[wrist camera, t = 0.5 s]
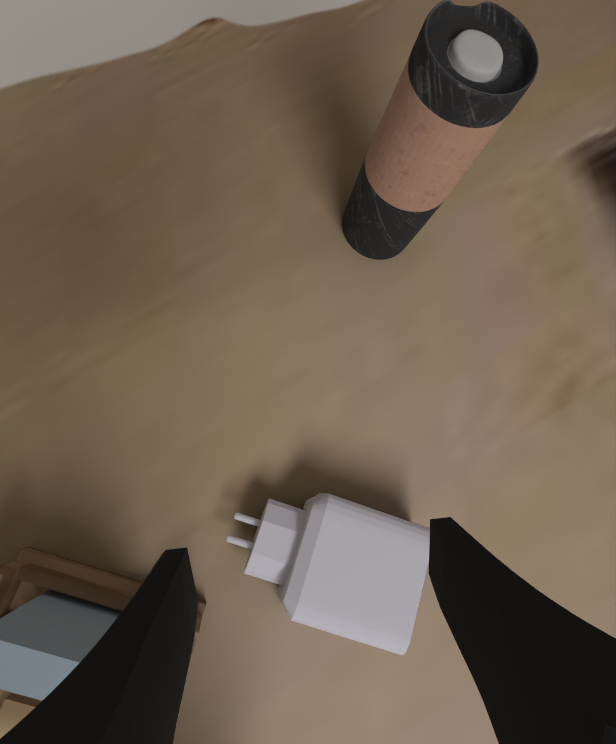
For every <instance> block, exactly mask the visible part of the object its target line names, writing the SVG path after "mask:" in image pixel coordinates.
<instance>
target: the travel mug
mask: <svg viewBox="0 0 616 744" xmlns="http://www.w3.org/2000/svg"><path fill="white" fill-rule="evenodd" d="M537 69H538V52H537V49H536V45H535V43H534V41H533V39H532V37H531V35H530V33H529V32H528V30H527V29H526V28H525V26H524V25H523V24H522V23H521V22H520V21H519V20H518V19H517V18H516V17H515V16H514V15H512V14H511V13H510V12H509V11H507V10H506V9H504V8H502V7H501V6H499V5H497V4H495V3H492V2H488V1H487V2H483V3H481V4H479V5H476V6H458V5H454V4H453V3H452V1H451V0H444V1H442V2H440V3H439V4H438V5H436V6H435V7H434V8H433V9H432V10H431V12H430V13H429V14H428V16H427V18H426V20H425V22H424V24H423V26H422V28H421V31H420V33H419V35H418V37H417V40H416V42H415V44H414V47H413V49H412V51H411V54H410V56H409V58H408V60H407V63H406V65H405V67H404V69H403V72H402V74H401V76H400V78H399V81H398V83H397V85H396V88H395V90H394V92H393V94H392V97H391V99H390V101H389V104H388V106H387V108H386V110H385V113H384V115H383V117H382V119H381V122H380V124H379V126H378V129H377V131H376V133H375V135H374V138H373V140H372V142H371V145H370V147H369V149H368V151H367V154H366V156H365V159H364V162H363V164H362V167H361V170H360V172H359V175H358V178H357V180H356V183H355V186H354V188H353V191H352V194H351V196H350V199H349V201H348V204H347V207H346V210H345V213H344V216H343V224H342V225H343V232H344V235H345V237H346V239H347V241H348V243H349V244H350V245H351V246H352V247H353V249H355V250H356V251H357V252H358V253H360V254H362V255H363V256H366V257H368V258H372V259H378V260H383V259H388V258H392V257H394V256H396V255H397V254H399V253H400V252H401V251H402V250H403V249H404V248H405V247H406V246H407V245H408V244H409V242H410V241H411V240H412V239H413V238H414V237H415V235H416V234H417V233H418V232H419V231H420V229H421V228H422V227H423V226H424V225H425V223H426V222H427V221H428V220H429V218H430V217H431V216H432V215H433V214H434V212H435V211H436V210H437V209H438V208H439V206H440V205H441V204H442V203H443V202H444V200H445V199H446V198H447V197H448V195H449V194H450V193H451V191H452V190H453V188H454V187H455V186H456V184H457V183H458V182H459V180H460V179H461V178H462V176H463V175H464V174H465V172H466V171H467V170H468V168H469V167H470V166H471V164H472V163H473V162H474V160H475V159H476V158H477V156H478V155H479V154H480V152H481V151H482V150H483V148H484V147H485V146H486V144H487V143H488V142H489V140H490V139H491V138H492V136H493V135H494V134H495V132H496V131H497V129H498V128H499V127H500V125H501V124H502V123H503V121H504V120H505V119H506V117H507V116H508V115H509V113H510V112H511V111H512V109H513V108H514V107H515V105H516V104H517V103H518V101H519V100H520V99H521V97H522V96H523V95H524V93H525V92H526V91H527V89H528V88H529V86H530V85H531V83H532V82H533V80H534V78H535V76H536V73H537Z"/></svg>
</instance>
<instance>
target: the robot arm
mask: <svg viewBox="0 0 616 744" xmlns="http://www.w3.org/2000/svg"><path fill="white" fill-rule="evenodd" d="M429 575H430V578H431V582H432V585H433V588H434V591H435V594H436V597H437V600H438V602H439V605H440V608H441V610H442V612H443V614H444V617H445V619H446V621H447V623H448V625H449V627H450V630H451V632H452V634H453V636H454V638H455V640H456V642H457V645H458V647H459V649H460V651H461V653H462V655H463V657H464V659H465V662H466V664H467V666H468V668H469V670H470V672H471V674H472V676H473V679H474V681H475V683H476V685H477V687H478V690H479V692H480V694H481V697H482V699H483V702H484V704H485V707H486V710H487V712H488V715H489V718H490V720H491V723H492V726H493V729H494V731H495V734H496V737H497V739H498V742H499V744H616V638H614V637H612V636H610V635H608V634H607V633H605V632H603V631H601V630H600V629H598V628H596V627H594V626H592V625H591V624H589V623H587V622H586V621H584V620H582V619H581V618H579V617H577V616H576V615H574V614H572V613H571V612H569V611H568V610H566V609H565V608H563V607H562V606H560V605H559V604H557V603H556V602H554V601H553V600H551V599H550V598H548V597H547V596H545V595H544V594H542V593H541V592H539V591H538V590H537V589H535V588H534V587H533V586H531V585H530V584H529V583H527V582H526V581H525V580H523V579H522V578H521V577H519V576H518V575H517V574H516V573H514V572H513V571H512V570H510V569H509V568H508V567H507V566H506V565H504V564H503V563H502V562H501V561H500V560H498V559H497V558H496V557H495V556H494V555H492V554H491V553H490V552H489V551H488V550H487V549H485V548H484V547H483V546H482V545H481V544H480V543H479V542H478V541H476V540H475V539H474V538H473V537H472V536H471V535H470V534H469V533H468V532H466V531H465V530H464V529H463V528H462V527H461V526H460V525H459V524H458V523H456V522H455V521H454V520H453V519H452V518H451V517H447V518H438V519H430V544H429ZM197 608H198V598H197V593H196V588H195V584H194V579H193V574H192V569H191V565H190V560H189V555H188V550H187V548H179V549H171V550H165V552H164V553H163V554H162V555H161V557H160V558H159V560H158V561H157V563H156V564H155V566H154V567H153V569H152V570H151V572H150V573H149V575H148V576H147V578H146V579H145V580H144V582H143V583H142V585H141V586H140V588H139V589H138V590H137V592H136V593H135V595H134V596H133V597H132V599H131V600H130V601H129V603H128V604H127V605H126V607H125V608H124V610H123V611H122V612H121V614H120V615H119V616H118V617H117V619H116V620H115V621H114V622H113V624H112V625H111V626H110V627H109V629H108V630H107V631H106V632H105V634H104V635H103V636H102V637H101V639H100V640H99V641H98V642H97V643H96V645H95V646H94V647H93V648H92V649H91V650H90V652H89V653H88V654H87V655H86V656H85V657H84V658H83V659H82V661H81V662H80V663H79V664H78V665H77V666H76V667H75V668H74V669H73V670H72V671H71V673H70V674H69V675H68V676H67V677H66V678H65V679H64V680H63V681H62V682H61V683H60V684H59V685H58V686H57V687H56V688H55V689H54V690H53V691H52V692H51V693H50V694H49V695H48V696H47V697H46V698H44V699H43V700H42V701H41V702H40V703H39V704H38V705H37V706H36V707H35V708H34V709H33V710H32V711H31V712H30V713H29V714H28V715H27V716H26V717H24V718H23V719H22V720H21V721H20V722H19V723H18V724H16V725H15V726H14V727H13V728H12V729H11V730H10V731H9V732H7V733H6V734H5V735H4V736H3V737H1V738H0V744H173V739H174V733H175V727H176V722H177V718H178V713H179V708H180V704H181V699H182V694H183V690H184V685H185V681H186V676H187V671H188V667H189V662H190V657H191V652H192V648H193V643H194V638H195V629H196V619H197Z"/></svg>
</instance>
